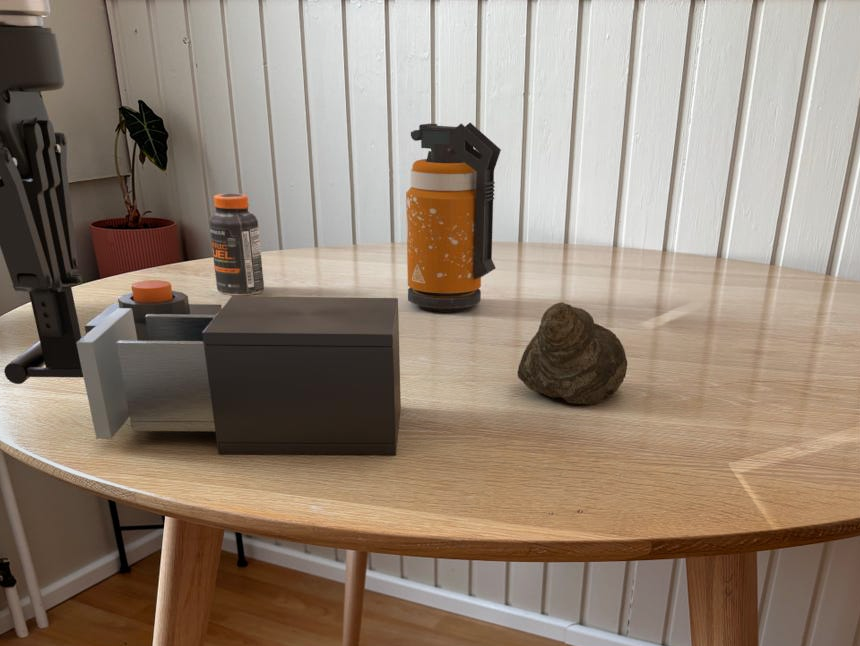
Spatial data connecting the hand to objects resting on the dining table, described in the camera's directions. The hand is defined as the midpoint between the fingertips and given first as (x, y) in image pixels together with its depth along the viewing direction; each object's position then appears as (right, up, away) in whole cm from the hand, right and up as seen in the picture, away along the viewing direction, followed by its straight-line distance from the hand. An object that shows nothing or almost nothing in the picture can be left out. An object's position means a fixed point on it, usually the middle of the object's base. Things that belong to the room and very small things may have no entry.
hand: (68, 373), depth 75 cm
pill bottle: (+2, +23, +45) cm, 51 cm away
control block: (-2, +12, +27) cm, 29 cm away
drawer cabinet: (+19, -4, +3) cm, 20 cm away
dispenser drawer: (+6, -3, +2) cm, 7 cm away
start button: (-2, +15, +25) cm, 29 cm away
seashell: (+43, +2, +13) cm, 45 cm away
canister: (+30, +20, +41) cm, 54 cm away
